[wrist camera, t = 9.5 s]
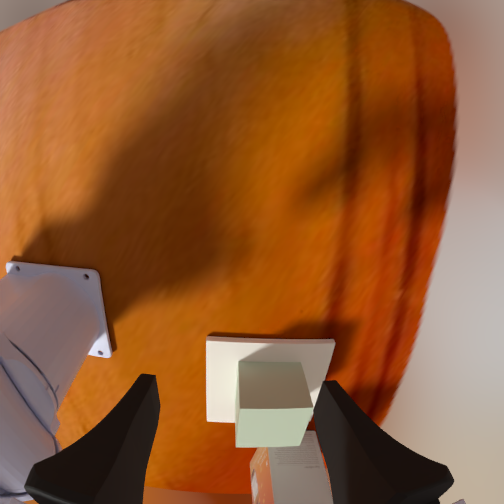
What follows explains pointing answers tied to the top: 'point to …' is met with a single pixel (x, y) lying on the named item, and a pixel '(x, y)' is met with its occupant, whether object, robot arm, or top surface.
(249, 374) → the cube
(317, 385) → the tile
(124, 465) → the robot arm
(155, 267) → the top surface
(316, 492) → the small box
